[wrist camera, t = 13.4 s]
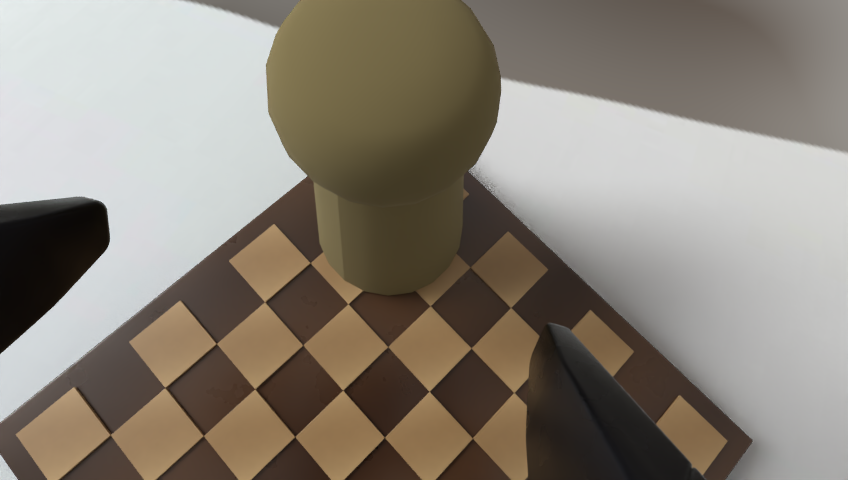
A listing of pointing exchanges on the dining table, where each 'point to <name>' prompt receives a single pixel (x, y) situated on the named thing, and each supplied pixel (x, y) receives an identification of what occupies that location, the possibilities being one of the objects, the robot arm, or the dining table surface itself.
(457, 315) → the chessboard
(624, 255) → the dining table surface
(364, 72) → the chess pawn
